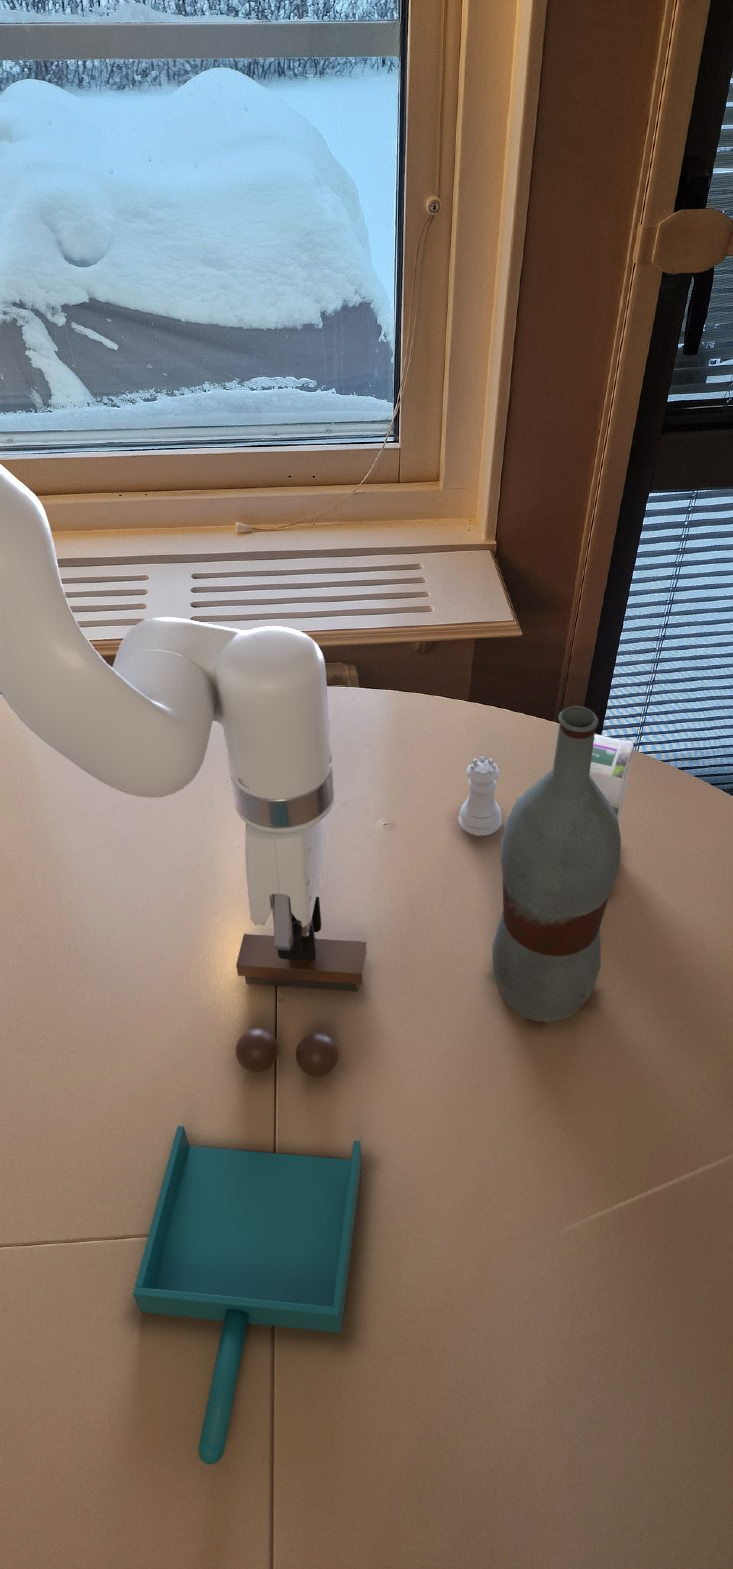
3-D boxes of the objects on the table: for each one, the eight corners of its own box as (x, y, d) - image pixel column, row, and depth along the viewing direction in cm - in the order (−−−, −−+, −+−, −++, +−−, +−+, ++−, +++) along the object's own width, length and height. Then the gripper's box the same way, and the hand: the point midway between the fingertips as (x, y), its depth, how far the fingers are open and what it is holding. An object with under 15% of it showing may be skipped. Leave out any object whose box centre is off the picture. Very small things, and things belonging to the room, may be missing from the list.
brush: (239, 986, 92) (226, 911, 85) (247, 954, 94) (235, 879, 88) (362, 995, 91) (359, 920, 84) (367, 962, 93) (363, 887, 87)
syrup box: (544, 877, 101) (558, 764, 91) (559, 837, 105) (573, 725, 95) (602, 892, 99) (623, 779, 89) (615, 850, 103) (636, 738, 93)
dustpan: (183, 1145, 81) (177, 1125, 79) (361, 1161, 79) (360, 1140, 77) (103, 1458, 65) (92, 1443, 63) (323, 1484, 64) (320, 1469, 62)
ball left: (234, 1078, 85) (229, 1054, 83) (242, 1042, 88) (238, 1018, 85) (276, 1082, 85) (272, 1057, 82) (283, 1045, 87) (279, 1021, 85)
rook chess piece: (461, 806, 109) (463, 747, 103) (503, 811, 108) (508, 752, 102) (455, 835, 105) (457, 776, 100) (499, 841, 105) (503, 782, 99)
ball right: (294, 1083, 85) (290, 1059, 82) (301, 1047, 87) (297, 1022, 85) (336, 1086, 84) (334, 1062, 82) (342, 1050, 87) (340, 1025, 85)
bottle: (471, 961, 93) (488, 695, 73) (560, 930, 96) (600, 664, 76) (521, 1043, 87) (554, 775, 67) (615, 1007, 89) (674, 739, 69)
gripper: (253, 716, 84) (273, 872, 96) (210, 859, 72) (239, 1017, 84) (345, 720, 83) (354, 877, 95) (317, 865, 71) (331, 1023, 83)
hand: (300, 941), depth 89 cm, fingers closed on brush, 2 cm apart
